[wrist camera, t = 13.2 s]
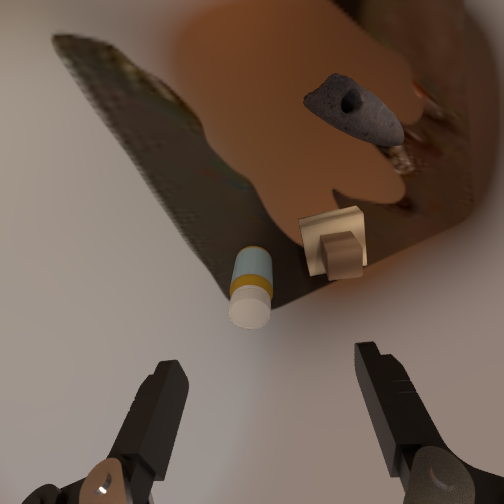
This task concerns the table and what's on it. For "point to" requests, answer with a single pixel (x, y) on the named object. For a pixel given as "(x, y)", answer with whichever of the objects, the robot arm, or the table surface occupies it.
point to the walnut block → (341, 255)
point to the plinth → (329, 224)
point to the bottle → (251, 288)
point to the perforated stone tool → (355, 111)
